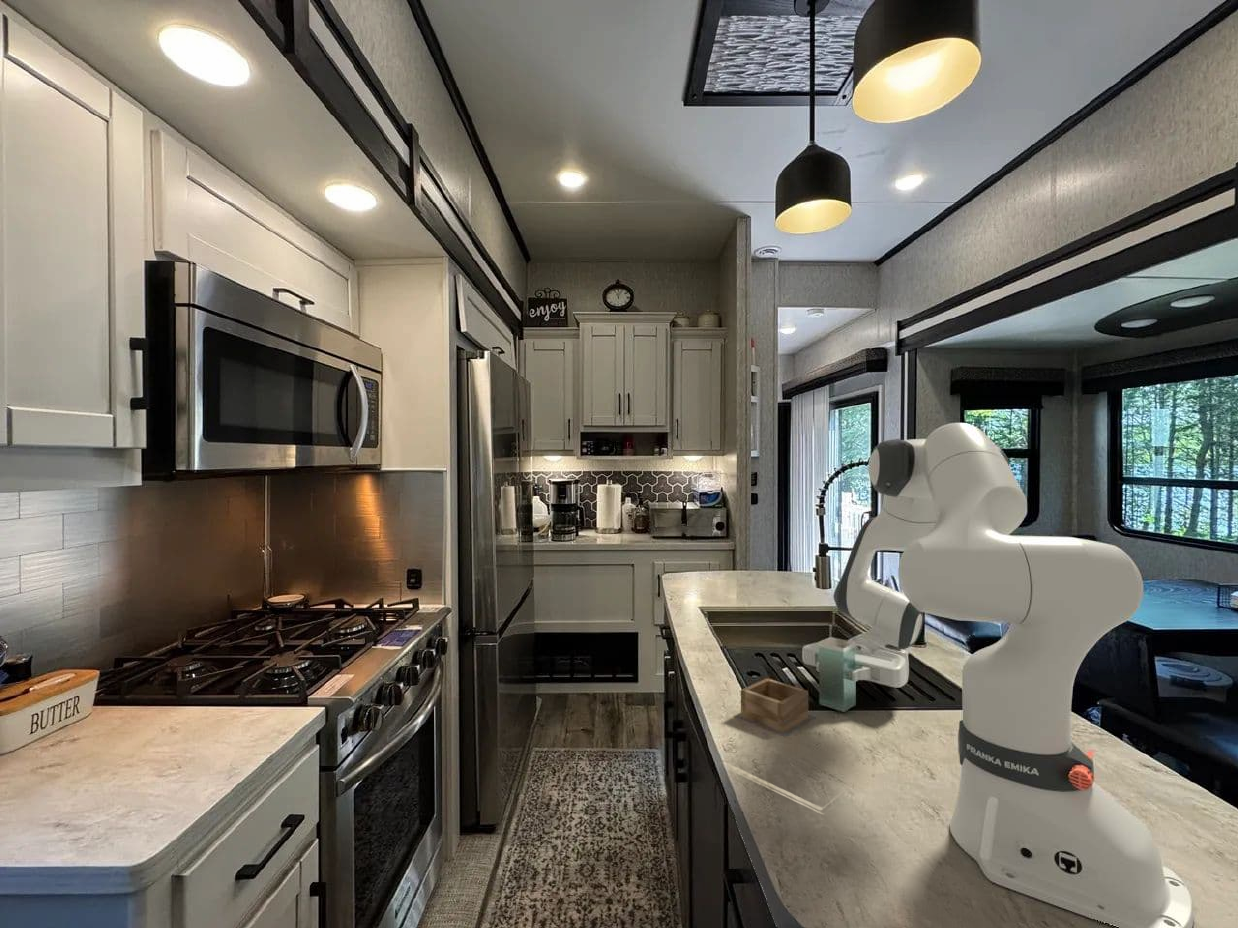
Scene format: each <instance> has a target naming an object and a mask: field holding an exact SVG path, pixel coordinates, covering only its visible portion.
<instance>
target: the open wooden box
mask: <svg viewBox="0 0 1238 928" xmlns="http://www.w3.org/2000/svg"><path fill="white" fill-rule="evenodd" d="M740 713H741V717H744V718H746V719H749V720H752V721H754V722H757V723H759V724H762V725H765V726H767V727H770V728H772V729H775V730H777V731H780V732H785V731H787V730H788V729H790V728H792V727H793V726H795V725H797V724H798V723H800V722H802V721H803V720H805V719H807V718H809V715H810V714H809V690H806V689H803V688H800V687H798V686H793V685H790V684H786V683H784V682H780V681H778V680H775V679H771V678H769V677H768V678H767V677H766V678H764V679H762V680H760V681H758V682H755V683H753V684H751V685H749V686H746V687H745V688H742V689H741V690H740Z"/></svg>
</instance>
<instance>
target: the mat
mask: <svg viewBox="0 0 1238 928" xmlns="http://www.w3.org/2000/svg"><path fill="white" fill-rule="evenodd" d="M733 717H734V718H735V719H736V718H737V719H738V720H741V721H744V722H746V723H749V724H751V725H755V727H758V728H762V729H765V730H767V731H770V732H773V733H775V734H776V735H779V736H783V737H787V736H788V735H790V734H792V733H794V732H795V731H797V730H799V729H801V728H802V727H804V726H805V725H807V724H808V723H810V722H811V721H814V720H815V719H817V717H815V716H813V715H810V714H809V718H807V719H805V720H803V721H802V722H800V723H798V724H797V725H795V726H793V727H792V728H790V729H788V730H787V731H785V732H780V731H777V730H775V729H772V728H770V727H767V726H765V725H762V724H759V723H757V722H754V721H752V720H749V719H746V718H744V717H741V712H739V713H737V714H735V715H734V716H733Z"/></svg>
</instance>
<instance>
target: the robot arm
mask: <svg viewBox="0 0 1238 928" xmlns="http://www.w3.org/2000/svg"><path fill="white" fill-rule="evenodd" d="M867 466H868V469H867V470H868V476H869V478H870V483H871V485H872V488H873V489H874V490H875V491H876V492H877V493H879V494H881V495H884V496H883V500H882V505H881V509H880V511H879V513H878V514H877V516H873V517H869V518H868V519H867V520H866V521H865V522H864V524H863V525H862V526H861V527H860V530H859V532H858V533H857V536H856V537H855V538H856V539H855V542H854V543H853V546H852V549H851V551H850V554H849V557H848V560H847V562H846V565H845V568H844V570H843V572H842V575H841V577H840V579H839V581H838V583H837V585H836V588H834V589H835V590H834V593H833V596H832V597H833V600H834V601H833V602H834V604H835V607H836V608H837V609H838V612H839V613H840V614H841V615H844V616H847V617H849V618H852V619H854V620H857V621H859V622H861V623H862V624H865V625H867V626H869V627H871V628H870V629H869V630H867V631H866V632H862V633H860V634H858V635H855V636H853V637H851V638H849V639H847V641H851V642H855V643H856V647H855V669H850V670H848V680H852V681H855V682H858V681H869V682H872V683H875V684H879V685H883V686H887V687H889V688H902V687H903V686H905V685H906V684H907V683H908V681H909V675H910V673H909V672H910V667H909V665H910V664H909V654H910V651H911V649H912V646H915V644H916V642H917V641H918V639H919V637H920V635H921V633H922V630H923V626H924V623H925V622H924V620H925V618H924V614H923V613H925V614H930V615H934V616H937V617H941V618H946V619H951V620H955V621H965V622H966V621H967V622H968V621H969V622H980V623H981V622H982V623H983V622H986V623H999V624H1001V623H1002V624H1010V626H1009V628H1008V630H1007V632H1006V633H1005V634H1004V635H1003V637H1001V638H1000V639H999V640H998V641H997V642H995V643H993V644H991V645H989V646H985V647H984V648H981V649H978V650H977V651H975V652H974V653H973V654H971V655H970V656H969V657H968V658H967V660H966V661H965V663H964V665H963V666H962V671H961V684H962V685H961V690H962V694H961V695H962V697H961V698H962V701H961V702H962V720H961V719H960V721H959V723H958V731H957V751H958V755H959V757H958V758H959V764H960V766H961V769H960V770H961V772H960V779H959V787H958V793H957V798H956V803H955V808H954V811H953V814H952V817H951V818H950V822H949V830H950V833H951V836H952V837H953V839H954V841H955V842H956V843H957V844H958V846H959V847H961V848H962V849H963V850H964V852H965V853H967V854H968V855H969V856H970V857H972V858H973V860H975V861H976V863H977V864H978V866H979V868H980V869H981V872H983V874H984V876H985V877H986V878H987V879H988V880H989V881H991V882H992V883H995V884H997V885H999V886H1001V887H1004V888H1007V889H1008V890H1009V889H1010V890H1013V891H1016V892H1017V893H1021V894H1023V895H1026V896H1029V897H1032V898H1034V899H1037V900H1040V901H1042V902H1046V903H1047V904H1050V905H1053V906H1057V907H1059V908H1062V909H1063V910H1064V909H1065V910H1067V911H1070V912H1073V913H1075V914H1078V915H1081V916H1084V917H1086V918H1088V919H1092V920H1094V919H1095V921H1097V920H1098V921H1097V922H1100V921H1101V922H1100V923H1102V922H1105V923H1108V924H1112V925H1116V926H1118V927H1120V928H1193V925H1194V919H1195V912H1194V905H1193V899H1192V896H1191V893H1190V891H1189V888H1188V887H1187V885H1186V883H1185V882H1184V881H1183V879H1182V878H1181V877H1179V876H1178V875H1177V873H1175V872H1174V871H1173V870H1172V869H1171V868H1169V867H1167V866H1165V865H1163V863H1162V860H1161V856H1160V851H1159V850H1158V847H1157V844H1156V842H1155V841H1156V840H1155V839H1154V836H1153V835H1152V834H1151V832H1150V830H1149V828H1148V827H1147V826H1146V825H1145V824H1144V823H1143V821H1141V820H1140V819H1138V818H1137V817H1136V816H1135V815H1134V814H1132V813H1131V812H1130V811H1129V810H1128V809H1127V808H1125V806H1123V805H1121V804H1120V803H1119V802H1118V801H1117V800H1115V799H1114V798H1113V797H1112V796H1111V795H1110V794H1108V792H1106V791H1105V789H1103V788H1101V787H1100V786H1099V785H1098V784H1097V783H1096V782H1094V780H1095V770H1094V769H1095V768H1094V760H1093V757H1094V756H1093V752H1092V750H1090V749H1089V750H1087V753H1085V752H1083V751H1082V750H1081V749H1080V748H1079V747H1078V746H1077V745H1075V743H1073V742H1072V741H1071V740H1072V739H1071V737H1072V736H1071V731H1072V730H1071V725H1072V724H1071V723H1072V720H1071V719H1072V717H1071V715H1072V701H1073V700H1072V699H1073V689H1074V688H1073V687H1074V684H1075V678H1076V675H1077V673H1078V670H1079V668H1080V666H1081V664H1082V662H1083V661H1084V659H1085V657H1086V656H1087V654H1088V653H1089V651H1091V649H1092V648H1093V647H1094V645H1095V644H1096V643H1097V642H1098V641H1099V640H1100V639H1101V638H1102V637H1103V636H1104V635H1105V634H1107V633H1109V632H1110V631H1111V630H1112V629H1114V628H1116V627H1118V626H1119V625H1122V624H1123V623H1126V622H1127V621H1129V620H1130V619H1131V618H1132V617H1133V616H1134V615H1135V614H1136V613H1137V611H1138V609H1139V608H1140V606H1141V604H1142V601H1143V598H1144V581H1143V577H1142V574H1141V572H1140V569H1139V568H1138V566H1137V565H1136V563H1135V562H1134V561H1133V559H1132V558H1131V557H1130V556H1129V555H1128V554H1127V553H1126V552H1125V551H1124V550H1122V548H1120V547H1118V546H1117V545H1113V544H1110V543H1104V542H1101V541H1096V540H1090V539H1085V538H1077V537H1073V536H1054V535H1053V536H1047V535H1044V536H1043V535H1011V534H1012V533H1013V532H1014V531H1015V530H1016V529H1017V528H1018V527H1019V526H1020V525H1021V524H1022V522H1023V521H1024V519H1025V518H1026V515H1027V511H1028V502H1027V496H1026V495H1025V493H1024V492H1023V488H1021V486H1020V484H1019V482H1018V479H1017V478H1016V476H1015V475H1014V473H1013V471H1012V469H1011V467H1010V463H1009V459H1008V456H1007V455H1006V453H1005V452H1004V450H1003V449H1002V448H1000V446H998V445H996V444H995V443H994V442H993V441H992V440H991V439H990V437H989V436H987V434H985V432H983V430H981V429H980V428H979V427H976V426H975V425H972V424H970V423H965V422H952V423H947V424H944V425H942V426H940V427H937V428H936V429H934V430H933V431H932V432H931V433H930V434H929V435H928V436H927V437H926V438H914V439H913V438H911V439H901V438H892V439H889V440H884V441H881V442H879V443H878V444H877V445H875V447H874V448H873V450H872V453H871V455H870V458H869V460H868V465H867ZM878 551H879V552H880V551H892V552H893V551H896V552H902V554H901V557H900V559H899V563H898V568H897V573H898V574H897V575H898V582H899V586H900V587H901V588H900V589H901V590H902V592H900V591H898V590H896V589H892V588H890V587H888V586H885V585H883V584H882V583H879V582H876V581H875V580H873V579H872V578H871V577H869V576H870V575H868V572H869V569H870V567H871V565H872V562H873V559H874V556H875V554H876V552H878ZM818 642H819V641H817V642H813V643H809V644H806V645H804V646H802V653H801V654H802V661H803V663H804V664H805V665H808V666H812V667H816V671H817V672H819V646H818ZM1105 923H1104V924H1105ZM1108 924H1107V925H1108Z"/></svg>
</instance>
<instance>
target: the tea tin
mask: <svg viewBox="0 0 1238 928" xmlns="http://www.w3.org/2000/svg"><path fill="white" fill-rule="evenodd" d="M817 642H818V646H819V671H818V685H819V687H818V689H819V690H818V691H819V696H818V698H819V701H818V702H819V705H820V706H824V707H826V708H827V707H828V708H831V709H834V710H837V711H840V712H842V713H845V712H847V711H848V710H850V709H851V708H853V707H855V706H856V705H857V699H856V698H857V695H856V693H857V691H856V690H857V689H856V682H857V681H856V682H855V681H852V680H848V670H850V669H855V647H856V643H855V642H851V641H848V640H847V639H841V638H838V637H831V636H830V637H827V638H824V639H822V640H820V641H817Z"/></svg>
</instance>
